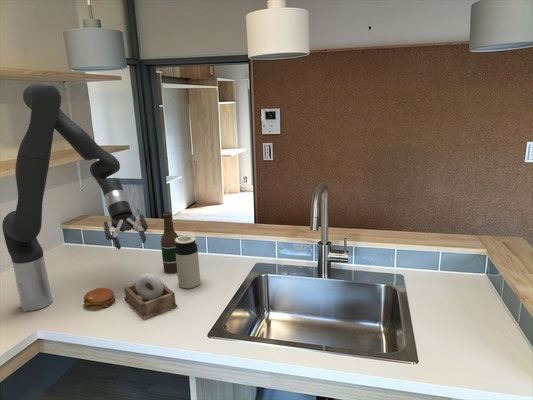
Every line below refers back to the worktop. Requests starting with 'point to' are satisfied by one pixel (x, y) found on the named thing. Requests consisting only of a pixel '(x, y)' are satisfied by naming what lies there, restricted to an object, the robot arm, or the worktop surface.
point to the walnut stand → (153, 306)
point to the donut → (152, 280)
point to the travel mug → (187, 261)
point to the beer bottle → (169, 245)
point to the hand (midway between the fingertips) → (132, 245)
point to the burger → (98, 298)
